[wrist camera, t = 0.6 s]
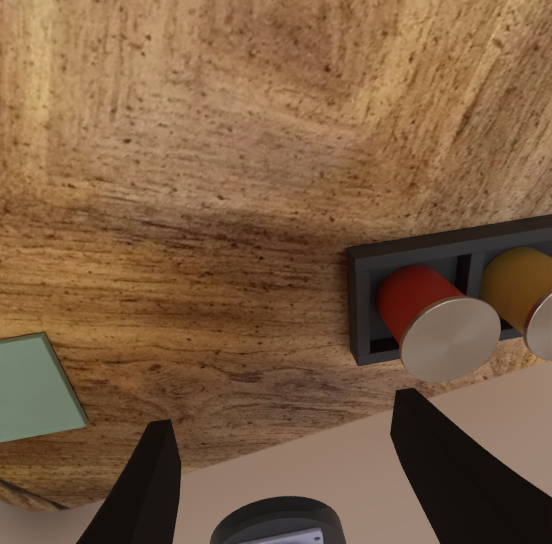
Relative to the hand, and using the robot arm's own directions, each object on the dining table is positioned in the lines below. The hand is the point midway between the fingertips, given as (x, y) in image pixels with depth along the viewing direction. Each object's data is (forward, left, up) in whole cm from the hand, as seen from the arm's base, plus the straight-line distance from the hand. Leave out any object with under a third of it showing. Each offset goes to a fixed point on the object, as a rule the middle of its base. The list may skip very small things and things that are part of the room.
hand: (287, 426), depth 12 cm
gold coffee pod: (-2, -15, -10) cm, 18 cm away
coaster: (-4, +16, -10) cm, 19 cm away
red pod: (-2, -9, -10) cm, 13 cm away
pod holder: (-2, -12, -10) cm, 16 cm away
